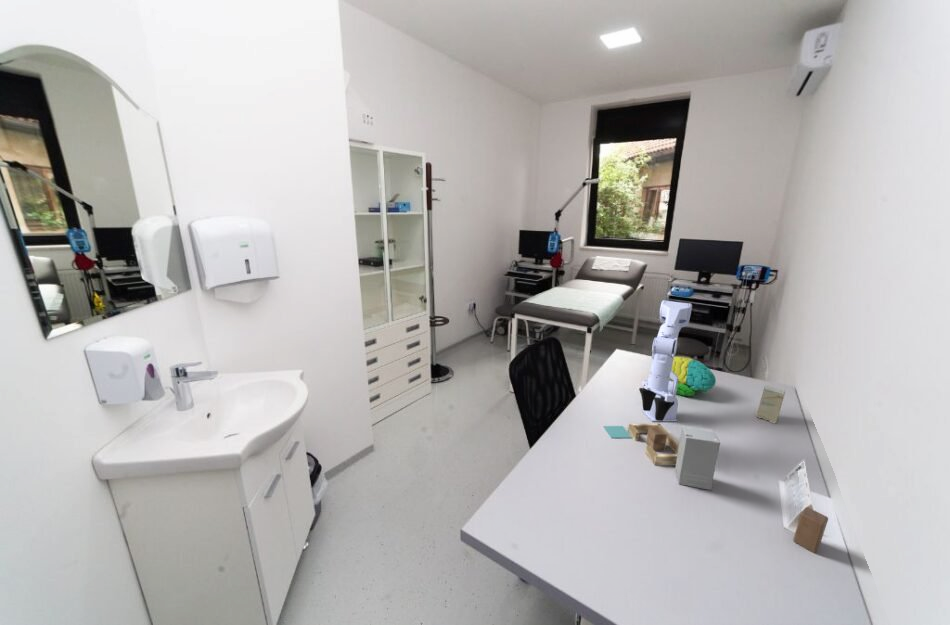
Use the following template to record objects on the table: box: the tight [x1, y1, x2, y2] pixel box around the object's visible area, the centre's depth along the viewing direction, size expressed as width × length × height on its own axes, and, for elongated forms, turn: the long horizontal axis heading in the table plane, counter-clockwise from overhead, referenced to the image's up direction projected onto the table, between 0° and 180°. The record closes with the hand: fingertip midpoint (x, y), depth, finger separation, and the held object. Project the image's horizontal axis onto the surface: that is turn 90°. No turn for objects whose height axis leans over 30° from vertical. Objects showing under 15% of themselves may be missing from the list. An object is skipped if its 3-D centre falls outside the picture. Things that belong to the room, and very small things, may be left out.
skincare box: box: [674, 424, 721, 491], centre depth 102 cm, size 8×7×16 cm
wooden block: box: [793, 506, 829, 554], centre depth 84 cm, size 4×4×8 cm
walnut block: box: [645, 427, 667, 452], centre depth 119 cm, size 4×4×6 cm
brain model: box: [669, 356, 717, 397], centre depth 159 cm, size 24×19×15 cm
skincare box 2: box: [756, 385, 786, 424], centre depth 137 cm, size 6×4×12 cm
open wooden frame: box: [627, 423, 679, 466], centre depth 119 cm, size 11×18×3 cm, turn 3°
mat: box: [603, 425, 633, 439], centre depth 127 cm, size 7×7×1 cm
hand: (652, 415), depth 118 cm, fingers open, 7 cm apart
